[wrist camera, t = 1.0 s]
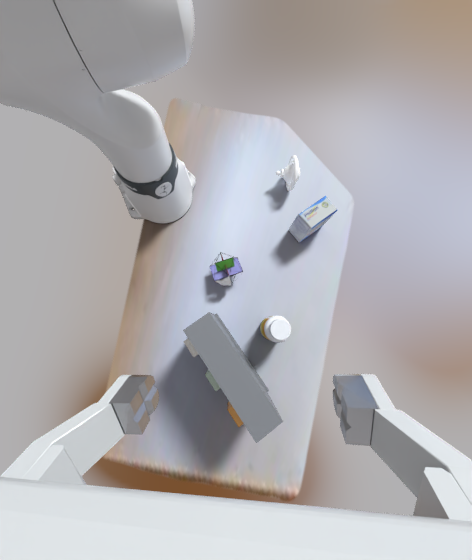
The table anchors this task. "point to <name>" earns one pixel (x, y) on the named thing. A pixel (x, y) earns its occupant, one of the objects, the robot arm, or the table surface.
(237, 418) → the button orange
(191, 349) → the button offwhite
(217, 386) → the button sage
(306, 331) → the table surface
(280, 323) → the supplement bottle
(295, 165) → the white irregular piece
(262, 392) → the button panel
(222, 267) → the geometric puzzle
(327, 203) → the medicine box
